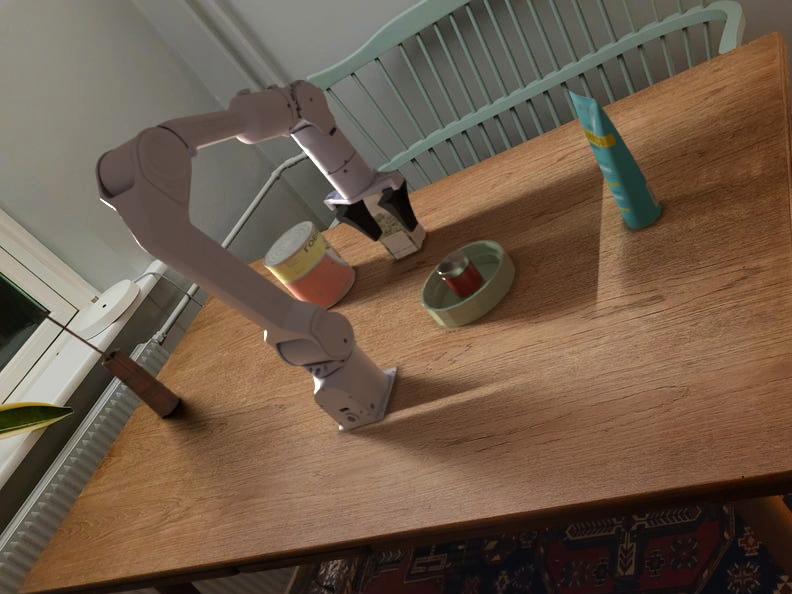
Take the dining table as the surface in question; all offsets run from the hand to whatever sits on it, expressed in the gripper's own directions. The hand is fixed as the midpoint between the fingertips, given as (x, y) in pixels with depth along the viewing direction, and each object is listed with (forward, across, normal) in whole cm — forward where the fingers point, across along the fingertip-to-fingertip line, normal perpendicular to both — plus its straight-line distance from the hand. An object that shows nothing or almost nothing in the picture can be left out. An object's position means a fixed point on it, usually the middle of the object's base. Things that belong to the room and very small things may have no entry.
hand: (396, 232), depth 108 cm
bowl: (+10, -12, +6) cm, 16 cm away
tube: (+10, -36, -3) cm, 38 cm away
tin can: (+9, -12, +6) cm, 16 cm away
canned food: (+10, +26, -2) cm, 28 cm away
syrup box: (+10, +10, -10) cm, 17 cm away
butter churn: (+10, +56, +23) cm, 61 cm away
